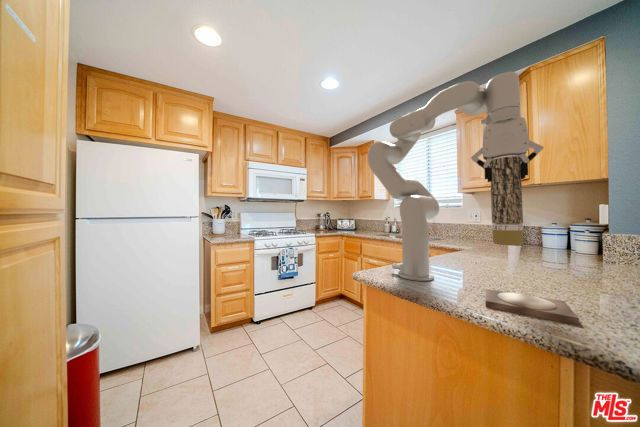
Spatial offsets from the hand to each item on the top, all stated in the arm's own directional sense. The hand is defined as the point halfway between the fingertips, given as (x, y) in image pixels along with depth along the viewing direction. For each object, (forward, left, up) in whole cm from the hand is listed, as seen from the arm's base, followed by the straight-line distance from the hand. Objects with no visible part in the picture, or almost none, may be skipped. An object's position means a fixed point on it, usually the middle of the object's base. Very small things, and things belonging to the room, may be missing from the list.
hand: (505, 179), depth 64 cm
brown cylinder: (0, 0, -19) cm, 19 cm away
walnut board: (+3, -5, -34) cm, 35 cm away
